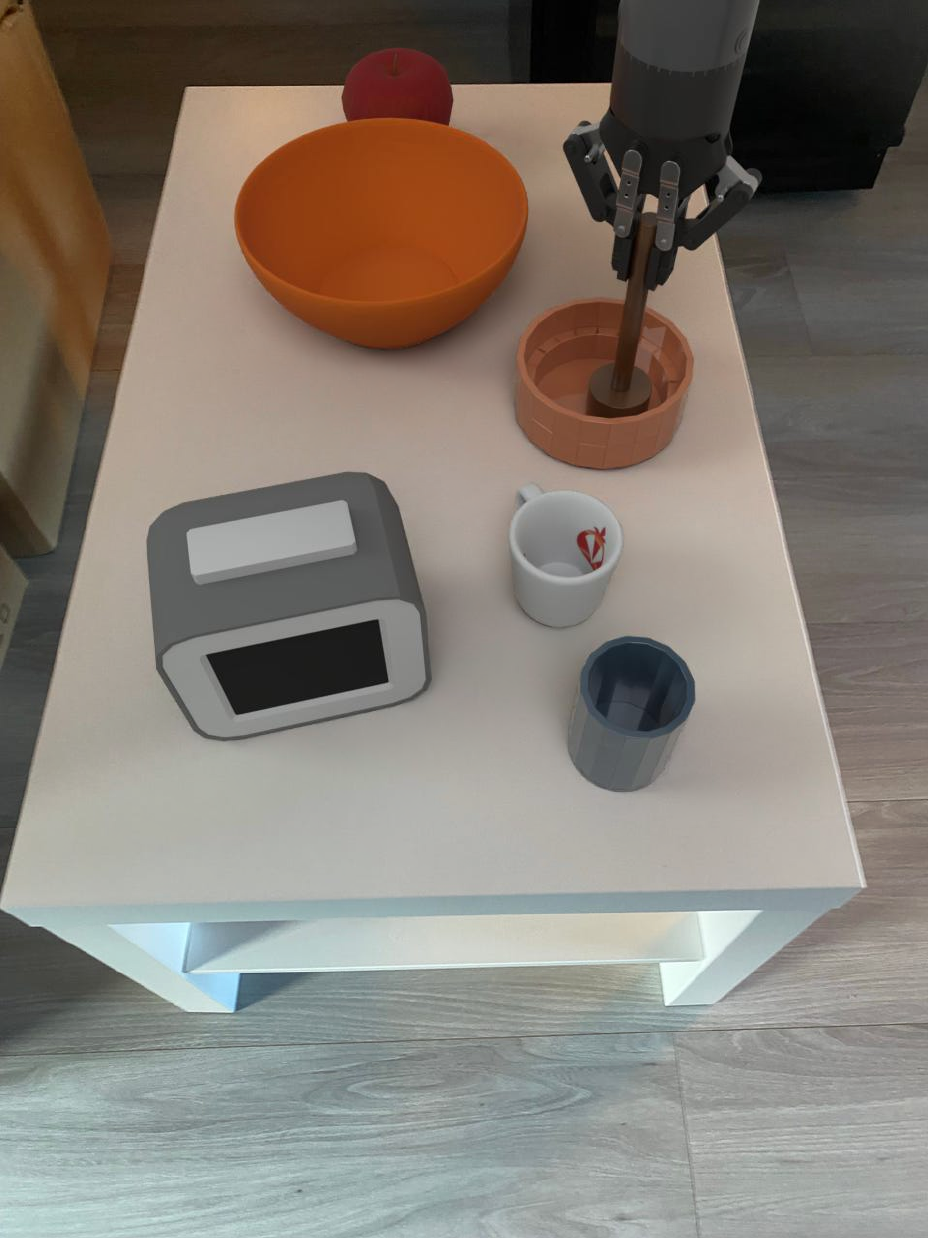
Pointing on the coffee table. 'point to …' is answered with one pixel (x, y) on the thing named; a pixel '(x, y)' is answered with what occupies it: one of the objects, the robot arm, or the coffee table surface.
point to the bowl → (382, 228)
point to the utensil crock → (629, 712)
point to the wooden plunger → (627, 341)
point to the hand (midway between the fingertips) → (639, 277)
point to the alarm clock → (286, 606)
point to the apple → (398, 87)
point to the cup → (562, 553)
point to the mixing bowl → (561, 369)
